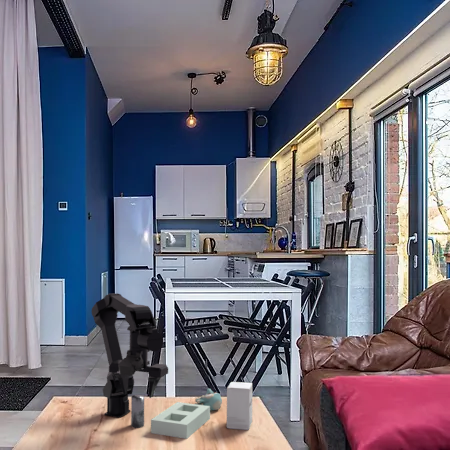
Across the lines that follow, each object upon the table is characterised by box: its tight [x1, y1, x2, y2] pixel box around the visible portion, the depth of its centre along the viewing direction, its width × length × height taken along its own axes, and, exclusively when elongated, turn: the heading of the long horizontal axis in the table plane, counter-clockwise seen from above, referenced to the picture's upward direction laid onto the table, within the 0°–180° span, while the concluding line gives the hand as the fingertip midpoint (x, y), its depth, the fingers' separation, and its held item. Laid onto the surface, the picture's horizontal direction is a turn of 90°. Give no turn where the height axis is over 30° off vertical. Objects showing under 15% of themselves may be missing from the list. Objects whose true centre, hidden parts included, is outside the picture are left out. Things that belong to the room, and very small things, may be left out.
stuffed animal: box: [194, 388, 223, 411], centre depth 170 cm, size 11×7×12 cm
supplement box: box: [226, 381, 253, 431], centre depth 153 cm, size 7×7×13 cm
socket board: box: [150, 401, 211, 440], centre depth 152 cm, size 12×18×4 cm, turn 159°
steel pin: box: [130, 394, 145, 429], centre depth 152 cm, size 4×4×9 cm
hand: (137, 395), depth 153 cm, fingers open, 9 cm apart
